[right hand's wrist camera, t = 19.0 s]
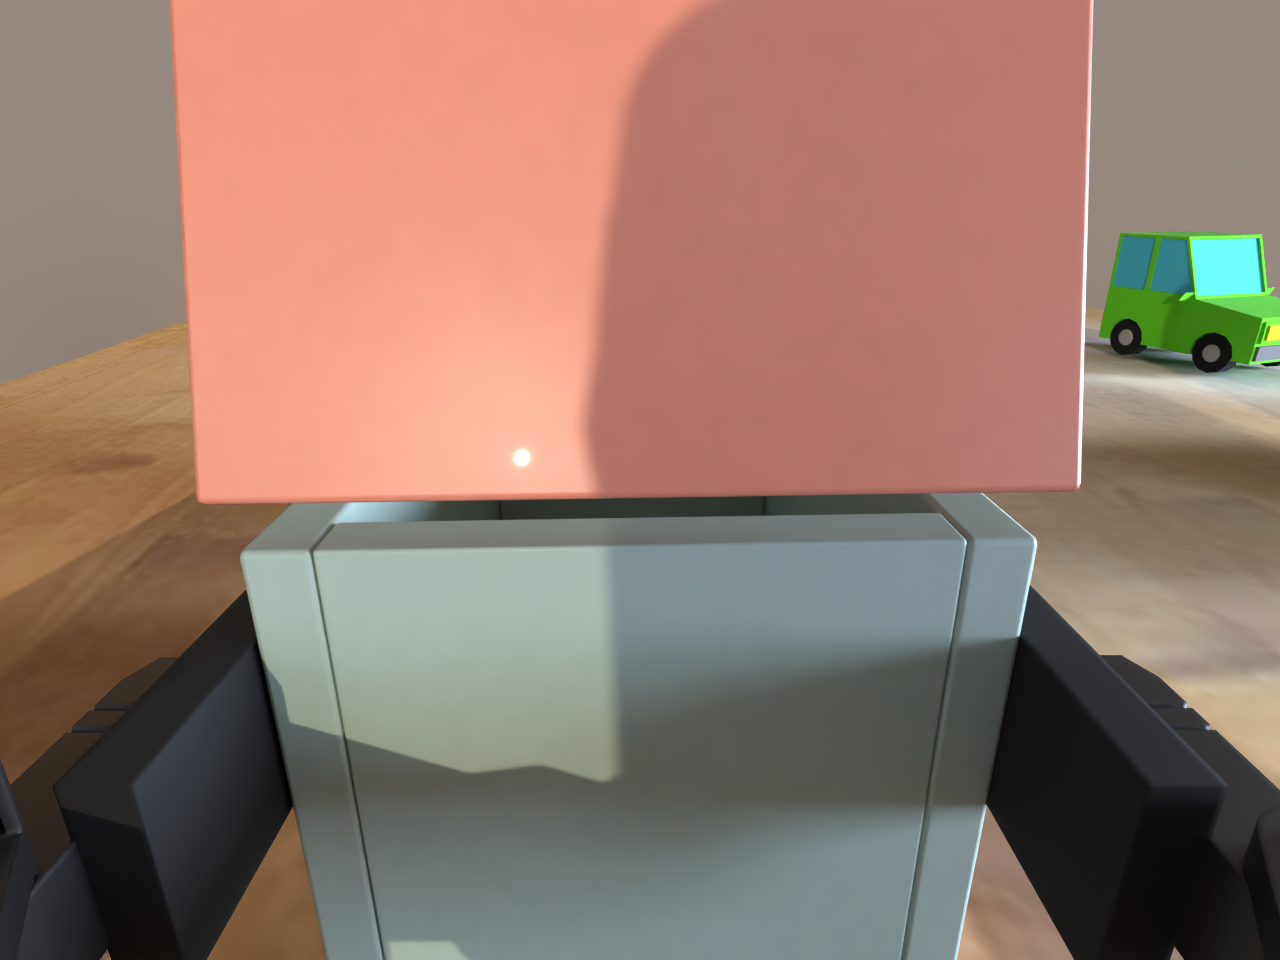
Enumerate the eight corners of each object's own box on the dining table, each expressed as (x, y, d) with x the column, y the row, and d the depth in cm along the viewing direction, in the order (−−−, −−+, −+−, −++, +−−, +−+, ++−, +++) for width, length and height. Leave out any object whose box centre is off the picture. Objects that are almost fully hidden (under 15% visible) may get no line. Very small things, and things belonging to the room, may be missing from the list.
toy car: (1238, 383, 57) (1277, 242, 53) (1087, 350, 69) (1111, 233, 65) (1330, 373, 60) (1373, 239, 56) (1170, 343, 72) (1197, 231, 68)
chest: (486, 635, 25) (459, 340, 21) (780, 630, 25) (799, 336, 22) (350, 1085, 12) (234, 552, 9) (937, 1069, 13) (1042, 539, 9)
